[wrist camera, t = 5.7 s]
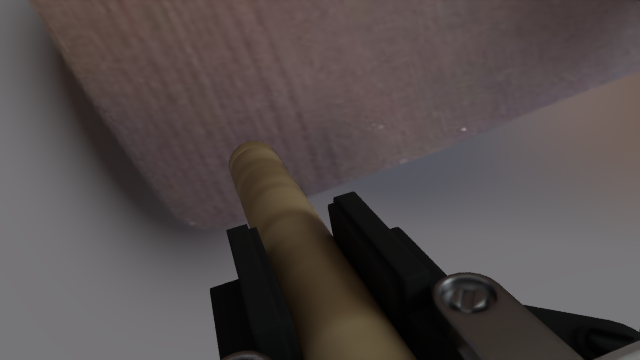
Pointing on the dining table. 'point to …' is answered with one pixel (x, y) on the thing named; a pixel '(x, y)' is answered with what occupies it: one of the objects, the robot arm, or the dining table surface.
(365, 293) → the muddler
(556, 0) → the dining table surface
